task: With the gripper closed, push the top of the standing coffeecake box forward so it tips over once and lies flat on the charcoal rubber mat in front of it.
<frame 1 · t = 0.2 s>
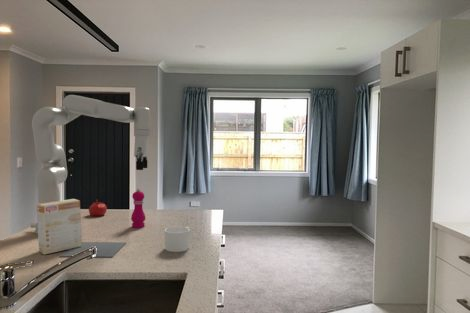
hand: (141, 168, 178), 31 cm above the countertop, tool pointing down, fingers open, 9 cm apart
mug: (179, 248, 157), on the countertop
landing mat: (95, 249, 152), on the countertop
coffeecake box: (60, 249, 152), on the countertop, touching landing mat
pomegranate: (97, 215, 217), on the countertop
pepper mill: (138, 226, 192), on the countertop
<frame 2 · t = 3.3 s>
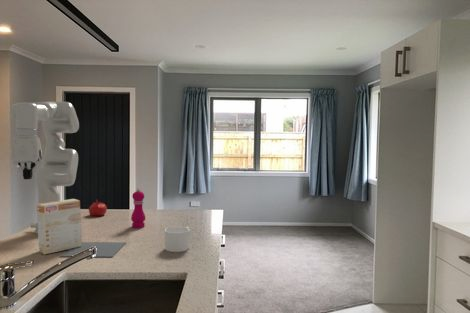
hand: (27, 178, 150), 29 cm above the countertop, tool pointing down, fingers closed
nothing on the countertop moved.
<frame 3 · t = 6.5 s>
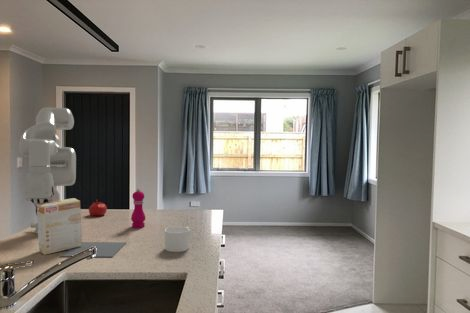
hand: (40, 215, 151), 14 cm above the countertop, tool pointing down, fingers closed
coffeecake box: (60, 248, 152), on the countertop, touching gripper, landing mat
everything else where it was.
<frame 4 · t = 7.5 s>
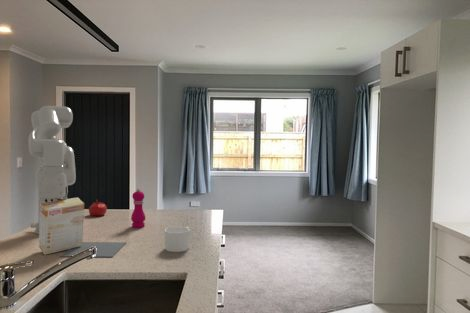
hand: (54, 215, 151), 14 cm above the countertop, tool pointing down, fingers closed
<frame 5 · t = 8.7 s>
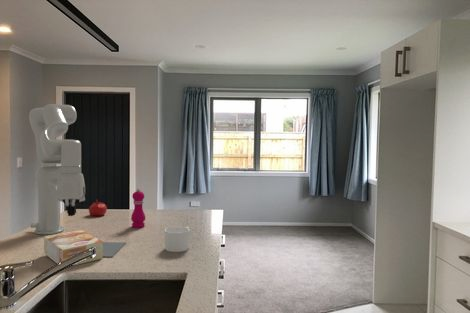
hand: (71, 215, 151), 14 cm above the countertop, tool pointing down, fingers closed
coffeecake box: (63, 240, 149), point 4 cm above the countertop, touching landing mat
everything else where it was.
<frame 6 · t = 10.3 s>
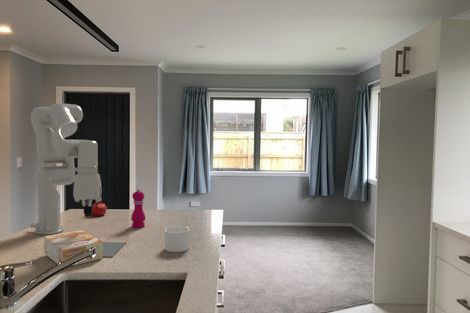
hand: (88, 215, 151), 14 cm above the countertop, tool pointing down, fingers closed
nothing on the countertop moved.
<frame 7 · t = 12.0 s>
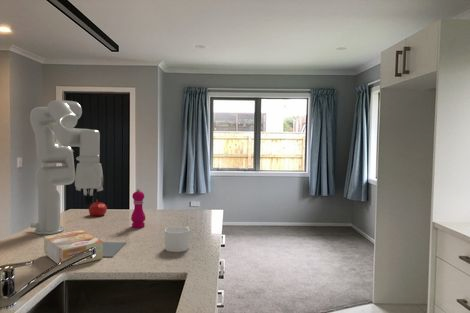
hand: (89, 204, 151), 19 cm above the countertop, tool pointing down, fingers closed
nothing on the countertop moved.
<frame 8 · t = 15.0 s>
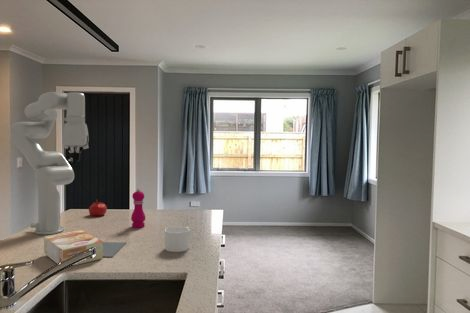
hand: (76, 161, 166), 35 cm above the countertop, tool pointing down, fingers closed
nothing on the countertop moved.
at the end: coffeecake box tilted 92°; coffeecake box touching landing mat, countertop; coffeecake box inside the target area (5.9 cm from its centre), point 4.3 cm above the countertop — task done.
